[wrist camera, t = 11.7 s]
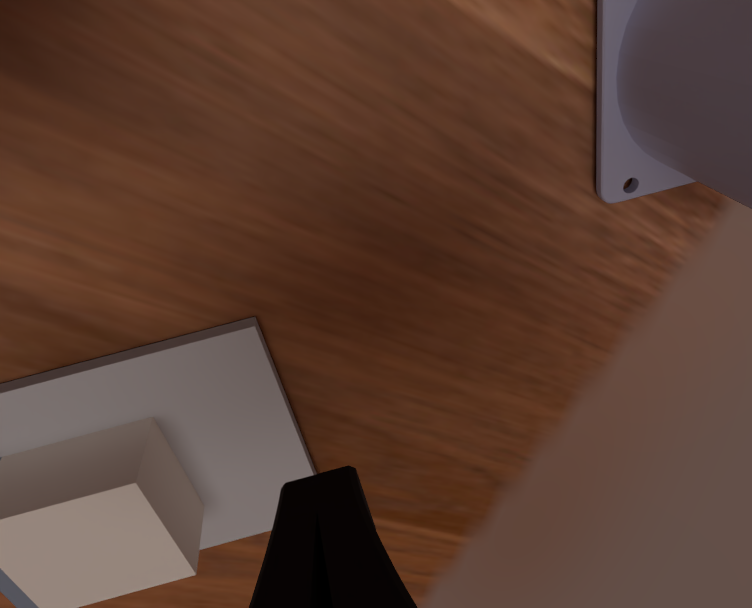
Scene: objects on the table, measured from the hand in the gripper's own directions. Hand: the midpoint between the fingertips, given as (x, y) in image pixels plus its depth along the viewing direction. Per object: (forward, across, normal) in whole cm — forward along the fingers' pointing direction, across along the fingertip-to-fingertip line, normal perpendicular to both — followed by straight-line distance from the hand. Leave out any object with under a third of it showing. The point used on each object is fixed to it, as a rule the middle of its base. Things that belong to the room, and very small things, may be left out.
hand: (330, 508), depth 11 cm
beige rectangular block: (+7, +6, +6) cm, 11 cm away
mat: (+9, +8, +6) cm, 14 cm away
